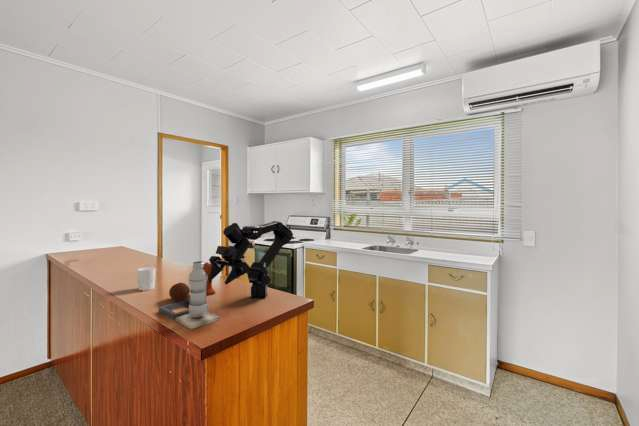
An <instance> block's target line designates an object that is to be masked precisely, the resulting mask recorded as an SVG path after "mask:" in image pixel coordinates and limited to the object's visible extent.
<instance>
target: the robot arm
mask: <svg viewBox="0 0 639 426" xmlns="http://www.w3.org/2000/svg"><path fill="white" fill-rule="evenodd" d="M271 232H272V234H273V235H274V240H273V241H272V243H271V245H270V246H269V247H268V249H267V250H266V251H265V253H264V255H263V256H262V257H261V258H260V260H259V261H258V262H257V261H256V262H255V261H254V262H252V263H251V266H250V265H249V264H248V263H247V262H246V261H245V260H244V259H245V258H246V256H245V254H246V252H247V251H248V249H251V250H252V249H254V245H253V242H251V241H250V240H252V241H256V240H258V239H259V238H261V237H262V236H263V235H264V234H268V233H271ZM222 233H223V236H224V237H226V239H227V240H228V241H229V242H230V243H231V244H233V245H229V246H224V245H223V246H222V245H218V246H217V247H216V250H215V254H217V255H211V256H210V258H209V259H208V261H209V263H210V264H211V265H212V268H211V272H210V276H209V279H208V280H209V281H211V280H212V281H213V280H214V279H215V278H216V277H217V276H218V275H219V274H220V273H221V272H222V271H223V270H222V268H223V269H224V268H225V267H231V270H230V272H229V274H228V275H227V277H226V279H225V281H224V284H225V285H228V284H230V283H231V282H233V281H234V280H236V279H238V278H239V277H241V276H244V275H245V274H247V275H246V276H247V278H248V283H249V284H251V286H250V299H263V300H264V299H266V298H267V297H268V295H269V293H268V285H270V284H271V280H272V278H271V277H270V276H269V275H268V274H269V267H270V266H271V264H272V262H273V261H274V260H275V258H276V257H277V256H278V254H279V252H280V251H281V249H282V247H283V246H285V245H287V244H289V242H291V241H292V239H293V237H294V233H293V231H292V230H291V229H290V228H289V227H288V226H286V225H284V223H282V221H277V220H276V221H275V220H273V221H271V222H268V223H264V224H260V225H249V226H248V225H245V226H242V228H241V227H240V226H239V224H238V223H237V222H233V223H231V224H230V225H227V226H226V227H224V229H223V231H222ZM218 255H220V256H221V257H220V256H218Z"/></svg>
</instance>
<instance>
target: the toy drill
mask: <svg viewBox="0 0 639 426" xmlns="http://www.w3.org/2000/svg"><path fill="white" fill-rule="evenodd" d="M211 268H212V265H211V263H210V262H208V261H207V262H204V267H203V269H204V270H205V271H206V273H207V275H208V279H209V276H210V272H211ZM222 271H224V268H222ZM208 279H207V286H206V296H213V295H215V294H216V290H214V288H213V279H212V280H211V281H209V280H208Z"/></svg>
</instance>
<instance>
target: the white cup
mask: <svg viewBox="0 0 639 426" xmlns="http://www.w3.org/2000/svg"><path fill="white" fill-rule="evenodd" d="M156 268H157V267H153V266H146V267H140V268H137V270H136V271H137V272H136V273H137V285H138V290H139V291H140V290H142V292H143V291H145V290H146V291H151V289H152V290H154V289H155V285H156V283H155V282H156V270H157V269H156Z"/></svg>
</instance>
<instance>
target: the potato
mask: <svg viewBox="0 0 639 426" xmlns="http://www.w3.org/2000/svg"><path fill="white" fill-rule="evenodd" d="M168 295H169V297H170V298H171V299H172V300H173V301H175V302H176V303H177V302H181V301H185V300H188V299H187V298H188V297H189V296H190V286H188V284H186V283H184V282H178V283H176V284H173V285H172V286H171V287H170V289H169V290H168Z"/></svg>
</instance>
